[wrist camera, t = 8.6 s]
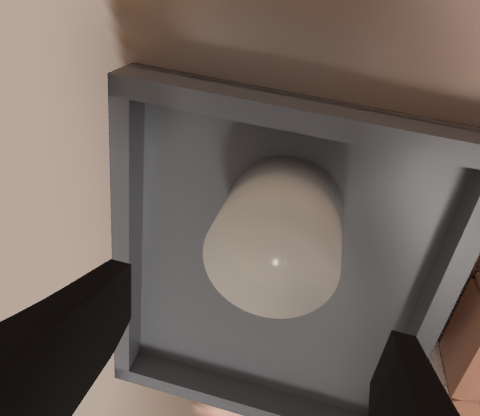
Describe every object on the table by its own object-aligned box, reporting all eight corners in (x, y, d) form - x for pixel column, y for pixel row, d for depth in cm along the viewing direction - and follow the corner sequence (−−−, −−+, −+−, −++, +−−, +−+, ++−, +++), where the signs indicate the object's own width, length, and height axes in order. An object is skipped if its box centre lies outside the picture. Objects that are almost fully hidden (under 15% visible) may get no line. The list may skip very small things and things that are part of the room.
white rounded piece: (329, 266, 19) (323, 332, 15) (225, 241, 19) (197, 299, 16) (356, 169, 16) (357, 221, 13) (238, 144, 17) (209, 188, 14)
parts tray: (379, 419, 23) (380, 455, 21) (131, 349, 25) (114, 377, 23) (509, 133, 15) (528, 154, 14) (132, 62, 17) (107, 72, 15)
